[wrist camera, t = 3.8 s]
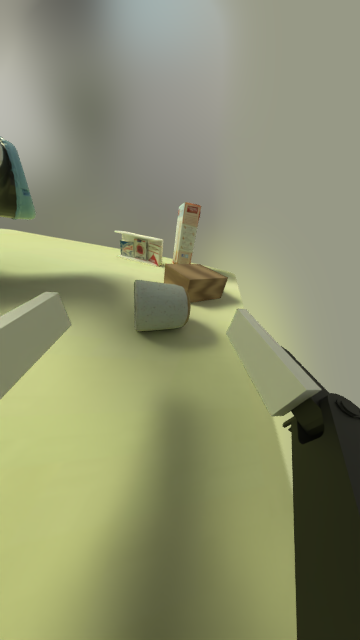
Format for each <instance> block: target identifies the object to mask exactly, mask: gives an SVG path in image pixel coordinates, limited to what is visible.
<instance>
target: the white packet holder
mask: <svg viewBox="0 0 360 640" xmlns="http://www.w3.org/2000/svg"><path fill="white" fill-rule="evenodd" d="M114 232H117V233H121V234H122V240H120V249H121V255H118V256H117V257H121V258H125V259H129V260H133V261H136V262H140V263H144V264H148V265H152V266H161V264H162V251H163V239H158V238H153V237H148V236H144V235H139V234H134V233H130V232H125V231H114Z"/></svg>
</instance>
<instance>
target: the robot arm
mask: <svg viewBox="0 0 360 640" xmlns="http://www.w3.org/2000/svg"><path fill="white" fill-rule="evenodd" d="M35 215H36V214H35V209H34V205H33V202H32V199H31V195H30V192H29V188H28V185H27V182H26V178H25V175H24V172H23V168H22V165H21V162H20V159H19V155H18V152H17V150H16V148H15V146H13V144H12V143H10V142H8V141H6V140H4V139H3V138H2V137H0V217H7V218H12V219H29V220H31V219H34V218H35ZM70 326H71V322H70V320H69V317H68V315H67V312H66V310H65V307H64V305H63V303H62V300H61V298H60V295H59V293H56V292H44V293H42V294H40V295H38V296H37V297H35V298H33V299H31V300H29V301H27V302H26V303H24V304H22V305H20V306H18V307H16V308H15V309H13V310H11V311H9V312H7V313H5V314H4V315H2V316H0V399H1V398H2V397H3V396H4V395H5V394H6V393H7V392H8V391H9V390H10V389H11V388H12V387H13V386H14V385H15V384H16V383H17V382H18V380H19V379H20V378H21V377H22V376H23V375H24V374H25V373H26V372H27V371H28V370H29V369H30V368H31V367H32V366H33V365H34V364H35V363H36V362H37V361H38V360H39V359H40V358H41V356H42V355H43V354H44V353H45V352H46V351H47V350H48V349H49V348H50V347H51V346H52V345H53V344H54V343H55V342H56V341H57V340H58V339H59V338H60V337H61V336H62V335H63V333H64V332H65V331H66V330H67V329H68V328H69V327H70ZM226 335H227V336H228V338H229V340H230V342H231V344H232V346H233V347H234V349H235V351H236V353H237V355H238V357H239V358H240V360H241V362H242V364H243V366H244V368H245V369H246V371H247V373H248V375H249V377H250V378H251V380H252V382H253V384H254V386H255V388H256V389H257V391H258V393H259V395H260V397H261V399H262V400H263V402H264V404H265V406H266V408H267V410H268V411H269V413H270V415H271V416H284V415H285V414H287V413H288V412H290V411H291V412H292V413H293V415H294V417H292V418H291V419H289V420H287V421H286V422H284V423H283V427H284V428H285V427H287V426H289V425H291V428H289V429H288V430H289V431H290V432H292V469H293V506H294V543H295V579H296V616H297V640H360V409H359V408H358V407H357V406H356V405H355V404H353V403H352V402H351V401H349V400H348V399H346V398H344V397H343V396H340V395H338V394H333V393H329V392H328V391H327V390H326V389H324V387H323V386H322V385H321V384H320V383H319V382H317V380H316V379H315V378H314V377H313V376H312V375H311V374H310V373H309V372H308V371H307V370H306V369H305V368H304V367H303V366H302V365H301V364H300V363H299V362H298V361H297V360H296V359H295V357H294V356H293V355H292V354H291V353H290V352H289V351H287V350H286V349H284V348H283V347H282V346H280V345H279V344H278V343H277V342H276V341H275V340H274V339H273V338H272V336H271V335H269V333H268V332H267V331H266V330H265V329H264V328H263V327H262V326H261V325H260V324H259V323H258V322H257V321H256V320H255V319H254V317H253V316H252V315H251V314H250V313H249V312H248V311H247V310H246V309H237V311H236V313H235V315H234V317H233V319H232V322H231V324H230V326H229V328H228V330H227V333H226Z"/></svg>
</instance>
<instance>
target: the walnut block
mask: <svg viewBox="0 0 360 640" xmlns="http://www.w3.org/2000/svg"><path fill="white" fill-rule="evenodd" d="M227 279H228V277H225V276H223V275H221V274H219V273H217V272H215V271H213V270H211V269H208V268H206V267H204V266H202V265H200V264H165V275H164V283H165V284H175V285H178V286H182V287H184V288H185V289H186V290H187V292H188V294H189V298H190V303H191V302H197V301H204V300H210V299H217V298H221V296H222V293H223V290H224V287H225V285H226V282H227Z"/></svg>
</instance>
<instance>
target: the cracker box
mask: <svg viewBox="0 0 360 640" xmlns="http://www.w3.org/2000/svg"><path fill="white" fill-rule="evenodd" d="M200 210H201V206H200V205H197V204H191V203H187V202H185V203H184V204H182V205H181V206H180V207H179V213H178V221H177V229H176V238H175V246H174V255H173V264H190V263H191V258H192V253H193V247H194V242H195V237H196V232H197V227H198V221H199V217H200Z"/></svg>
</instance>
